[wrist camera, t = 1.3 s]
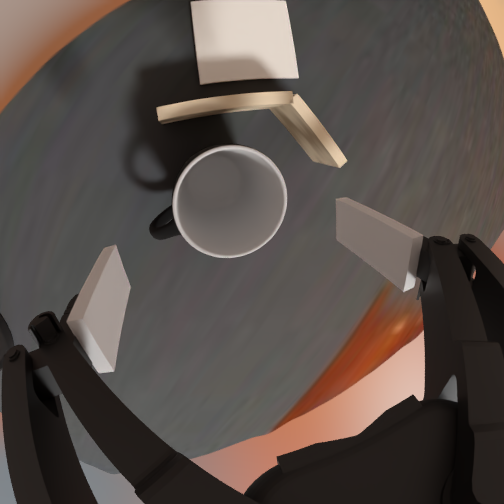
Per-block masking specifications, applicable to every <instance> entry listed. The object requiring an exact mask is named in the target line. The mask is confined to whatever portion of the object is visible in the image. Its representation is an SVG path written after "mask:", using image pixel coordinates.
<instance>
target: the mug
mask: <svg viewBox="0 0 504 504" xmlns="http://www.w3.org/2000/svg"><path fill="white" fill-rule="evenodd" d="M286 207H287V190H286V185H285V182H284V179H283V176H282V174H281V172H280V171H279V169H278V168H277V166H276V165H275V164H274V163H273V162H272V161H271V160H270V159H269V158H268V157H267V156H266V155H264V154H263V153H261V152H260V151H258V150H256V149H253V148H251V147H248V146H244V145H239V144H220V145H214V146H210V147H207V148H205V149H203V150H201V151H199V152H197V153H196V154H194V155H193V156H192V157H191V158H189V159H188V160H187V162H186V163H185V164H184V165H183V167H182V168H181V170H180V171H179V173H178V176H177V178H176V181H175V184H174V188H173V193H172V205H171V206H170V207H168V208H167V209H165V210H164V211H163V212H162V213H160V214H159V215H158V216H157V217H156V218H155V219H154V220H153V221H152V223H151V224H150V227H149V230H150V233H151V235H152V236H153V237H154V238H155V239H158V240H163V239H167V238H170V237H173V236H176V235H182V236H183V237H184V238H185V240H186V241H187V242H188V243H189V244H190V245H191V246H193V247H194V248H195V249H197V250H199V251H200V252H203V253H205V254H207V255H210V256H214V257H220V258H233V257H239V256H243V255H246V254H249V253H251V252H253V251H255V250H257V249H259V248H260V247H262V246H263V245H264V244H266V243H267V242H268V241H269V240H270V239H271V238H272V237H273V235H274V234H275V233H276V232H277V230H278V229H279V227H280V225H281V223H282V221H283V218H284V215H285V212H286ZM171 219H172V220H171ZM170 220H171V221H170ZM169 221H170V222H169ZM167 222H169V223H167ZM166 223H167V224H166Z"/></svg>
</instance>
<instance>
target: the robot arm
mask: <svg viewBox="0 0 504 504" xmlns="http://www.w3.org/2000/svg"><path fill="white" fill-rule="evenodd" d="M336 240H337V241H339V242H340V243H341V244H343V245H344V246H345V247H347V248H348V249H349V250H351V251H352V252H353V253H355V254H356V255H357V256H359V257H360V258H361V259H363V260H364V261H365V262H366V263H368V264H369V265H370V266H372V267H373V268H374V269H375V270H377V271H378V272H379V273H381V274H382V275H383V276H384V277H386V278H387V279H388V280H389V281H391V282H392V283H393V284H394V285H396V286H397V287H398V288H399V289H400V290H402V291H403V292H404V291H407V290H409V289H411V288H413V287H414V285H415V280H416V276H417V277H419V278H420V279H421V283H420V287H419V291H418V295H417V300H419V297H420V296H421V302H422V312H423V325H424V341H425V393H424V399H423V400H422V401H418V400H417V399H416V397H415V396H414V395H412V396H410V397H408V398H407V399H405V400H403V401H402V402H400V403H399V404H397V405H395V406H393V407H392V408H390V409H388V410H386V411H385V412H384V413H383V414H382V415H381V416H380V417H378V418H377V419H376V420H375V421H374V422H373V423H372V424H371V425H369V426H368V427H367V428H366V429H365V430H364V431H362V432H361V433H360V434H358V435H356V436H353V437H348V438H344V439H338V440H333V441H328V442H322V443H315V444H313V445H310V446H308V447H305V448H302V449H299V450H296V451H293V452H290V453H287V454H284V455H281V456H277V463H278V465H276V466H275V467H273V468H271V469H269V470H268V471H267V472H265V473H264V474H262V475H261V476H260V477H259V478H258V479H256V480H255V481H254V482H253V483H252V485H251V486H250V487H249V488H248V489H247V491H246V492H245V493H244V495H243V494H241V493H240V492H238V491H236V490H234V489H233V488H231V487H229V486H228V485H226V484H224V483H223V482H222V481H219V480H218V479H217V478H215V477H214V476H212V475H211V474H209V473H208V472H206V471H205V470H203V469H202V468H201V467H199V466H198V465H196V464H195V463H193V462H192V461H191V460H189V459H188V458H187V457H185V456H184V455H182V454H181V453H179V452H177V451H175V450H174V449H172V448H171V447H170V446H169V445H168V444H166V443H165V442H164V441H163V440H162V439H160V438H159V437H158V436H157V435H156V434H155V433H154V432H152V431H151V430H150V429H149V428H148V427H147V426H146V425H145V424H144V423H143V422H142V421H140V420H139V419H138V418H137V417H136V416H135V415H134V414H133V413H132V412H131V411H130V410H129V409H128V408H127V407H126V406H125V405H124V404H123V403H122V402H121V401H120V400H119V398H118V397H117V396H116V395H115V394H114V393H113V392H112V391H111V390H110V389H109V388H108V386H107V385H106V384H105V383H104V382H103V381H102V380H101V378H100V377H99V376H98V375H97V374H96V372H95V371H94V370H93V369H92V368H91V367H92V364H93V366H94V367H95V369H96V370H97V371H98V373H105V372H114V371H115V364H116V358H117V351H118V346H119V340H120V334H121V329H122V324H123V319H124V314H125V310H126V305H127V301H128V296H129V292H130V288H131V286H130V284H129V281H128V278H127V276H126V273H125V270H124V267H123V264H122V262H121V259H120V256H119V253H118V250H117V247H116V245H113V246H109V247H105V248H104V249H103V250H102V252H101V254H100V256H99V257H98V259H97V261H96V263H95V265H94V266H93V268H92V270H91V272H90V274H89V276H88V278H87V280H86V282H85V283H84V285H83V287H82V289H81V291H80V293H79V294H77V295H75V296H74V297H73V298H72V299H71V300H70V302H69V304H68V306H67V308H66V310H65V312H64V315H63V316H62V318H61V320H60V322H59V321H58V319H57V317H56V316H55V314H54V313H53V312H52V311H47V312H44V313H41V314H39V315H38V316H36V317H35V318H34V319H33V320H32V321H31V322H30V324H29V326H28V331H29V333H30V334H31V336H32V338H33V339H34V341H35V342H36V344H37V345H38V347H39V349H37V350H34V351H32V352H29V353H28V351H27V350H26V348H25V347H24V346H23V345H16V346H14V342H13V338H12V335H11V332H10V330H9V328H8V326H7V324H6V322H5V321H4V319H3V318H2V316H1V315H0V371H1V370H2V369H3V370H2V420H3V432H4V442H5V450H6V457H7V463H8V469H9V474H10V478H11V483H12V487H13V491H14V495H15V498H16V501H17V504H98V503H97V501H96V499H95V497H94V495H93V493H92V490H91V488H90V486H89V484H88V482H87V479H86V477H85V475H84V473H83V470H82V468H81V465H80V463H79V460H78V457H77V455H76V452H75V449H74V446H73V443H72V440H71V437H70V434H69V431H68V428H67V424H66V421H65V417H64V413H63V410H62V406H61V401H60V397H59V395H60V394H63V395H64V397H65V398H66V400H67V402H68V403H69V405H70V406H71V408H72V410H73V411H74V413H75V414H76V416H77V417H78V419H79V420H80V422H81V423H82V425H83V426H84V428H85V429H86V430H87V432H88V433H89V435H90V436H91V437H92V439H93V440H94V441H95V443H96V444H97V445H98V447H99V448H100V449H101V450H102V452H103V453H104V454H105V455H106V456H107V458H108V459H109V460H110V461H111V462H112V464H113V465H114V466H115V467H116V468H117V469H118V470H119V472H120V473H121V474H122V475H123V476H124V477H125V478H126V479H127V480H128V481H129V482H130V483H131V485H132V486H133V487H134V488H135V493H136V495H137V496H138V497H139V498H140V499H141V500H142V501H143V503H145V504H504V264H503V263H502V261H501V260H500V259H499V258H498V257H497V256H496V255H495V254H494V253H493V252H492V251H491V250H490V249H489V248H488V247H487V246H486V245H485V244H484V243H483V242H482V241H481V240H480V239H478V238H477V237H475V236H474V235H472V234H462V235H460V239H459V244H453V243H452V242H451V241H450V240H449V239H447V238H444V237H441V236H432V237H430V238H429V239H428V238H426V237H424V236H423V235H422V234H420V233H418V232H416V231H414V230H413V229H411V228H409V227H407V226H405V225H403V224H401V223H399V222H397V221H395V220H393V219H391V218H389V217H387V216H385V215H383V214H381V213H379V212H377V211H375V210H373V209H371V208H369V207H366V206H364V205H362V204H360V203H358V202H356V201H353V200H351V199H349V198H347V197H345V198H338V199H336ZM475 269H476V276H475V279H473V278H472V277H473V273H474V270H475Z"/></svg>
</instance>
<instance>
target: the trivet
mask: <svg viewBox="0 0 504 504" xmlns="http://www.w3.org/2000/svg"><path fill="white" fill-rule="evenodd" d="M191 14H192V23H193V32H194V41H195V49H196V57H197V65H198V73H199V81H200V85H205V84H212V83H220V82H230V81H241V80H256V79H297V78H299V76H298V69H297V62H296V56H295V50H294V43H293V37H292V32H291V26H290V21H289V15H288V10H287V5H286V1H280V0H204V1H193V2H191Z"/></svg>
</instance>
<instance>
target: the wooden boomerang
mask: <svg viewBox="0 0 504 504" xmlns="http://www.w3.org/2000/svg"><path fill="white" fill-rule="evenodd" d="M258 109H270V110H271V111H272V112H273V114H274V115H275V116H276V117H277V118H278V119H279V120H280V122H281V123H282V124H283V125H284V126H285V127H286V129H287V130H288V131H289V132H290V133H291V135H292V136H293V137H294V138H295V139H296V141H297V142H298V143H299V144H300V146H301V147H302V148H303V149H304V151H305V152H306V153H307V154H308V156H309V157H310V158H311V160H312V161H314V162H318V163H322V164H326V165H330V166H334V167H338V168H341V167H342V166H343V165H344V164H345V163H346V162H347V159H346V158H345V156H344V155H343V153H342V152H341V151H340V149H339V148H338V146H337V145H336V143H335V142H334V141H333V139H332V138H331V136H330V135H329V134H328V132H327V131H326V130H325V128H324V127H323V125H322V124H321V123H320V122H319V120H318V119H317V118H316V116H315V115H314V114H313V112H312V111H311V110H310V109H309V107H308V106H307V105H306V104H305V102H304V101H303V100H302V99H301V97H300V96H299V95H298V94H294V95H293V94H292V91H280V92H260V93H247V94H236V95H227V96H219V97H211V98H204V99H198V100H192V101H186V102H181V103H175V104H170V105H165V106H161V107H157V114H158V121H159V122H160V123H161V124H166V123H171V122H175V121H180V120H186V119H191V118H197V117H203V116H209V115H215V114H222V113H230V112H238V111H248V110H258Z"/></svg>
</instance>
